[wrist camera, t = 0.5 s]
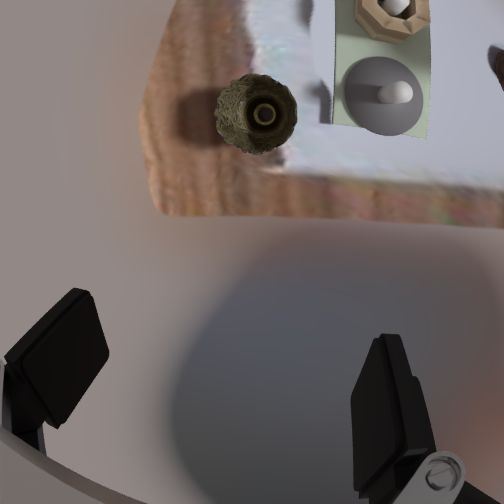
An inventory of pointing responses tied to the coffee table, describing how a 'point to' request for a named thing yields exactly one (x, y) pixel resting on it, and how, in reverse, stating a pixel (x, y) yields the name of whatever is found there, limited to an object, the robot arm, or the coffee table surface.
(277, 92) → the fiber plant pot
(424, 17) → the collar
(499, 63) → the brown log
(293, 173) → the coffee table surface
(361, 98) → the hub board
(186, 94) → the coffee table surface
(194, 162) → the coffee table surface
